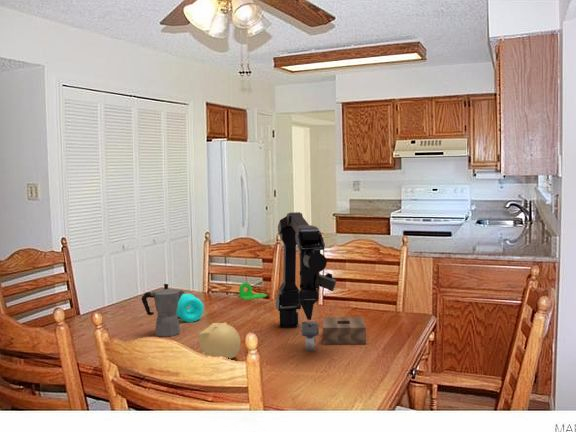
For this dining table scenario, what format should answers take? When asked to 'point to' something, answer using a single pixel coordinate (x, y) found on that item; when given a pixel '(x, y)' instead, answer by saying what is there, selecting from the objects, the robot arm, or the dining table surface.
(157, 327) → the coffeepot
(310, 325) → the steel pin
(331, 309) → the dining table surface
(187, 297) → the donuts
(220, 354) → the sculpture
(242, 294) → the mechanical part
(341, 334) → the block
